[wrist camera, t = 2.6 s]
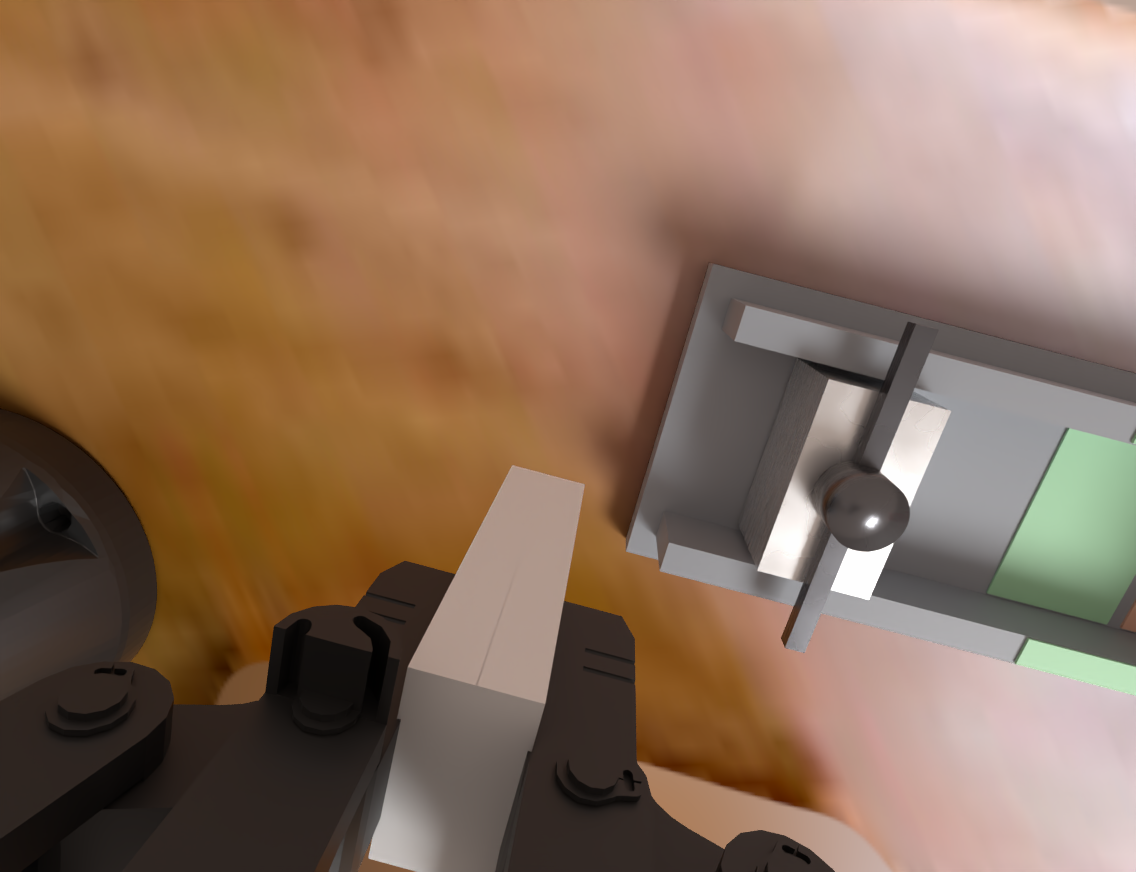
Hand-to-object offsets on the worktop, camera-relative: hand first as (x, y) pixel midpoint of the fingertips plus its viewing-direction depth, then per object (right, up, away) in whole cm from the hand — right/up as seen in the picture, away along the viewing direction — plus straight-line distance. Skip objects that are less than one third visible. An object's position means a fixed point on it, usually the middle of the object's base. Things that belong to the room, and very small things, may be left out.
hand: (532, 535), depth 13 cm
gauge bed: (+17, 0, +14) cm, 22 cm away
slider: (+10, +1, +12) cm, 16 cm away
